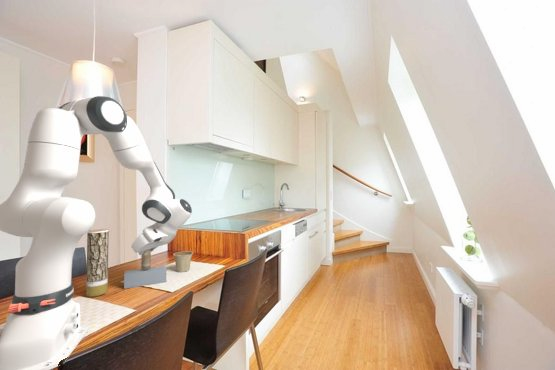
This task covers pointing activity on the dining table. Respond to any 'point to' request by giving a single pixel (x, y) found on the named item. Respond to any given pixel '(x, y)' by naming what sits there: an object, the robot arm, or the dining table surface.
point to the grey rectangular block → (144, 277)
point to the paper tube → (97, 262)
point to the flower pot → (183, 260)
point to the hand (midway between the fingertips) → (145, 252)
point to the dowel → (146, 259)
